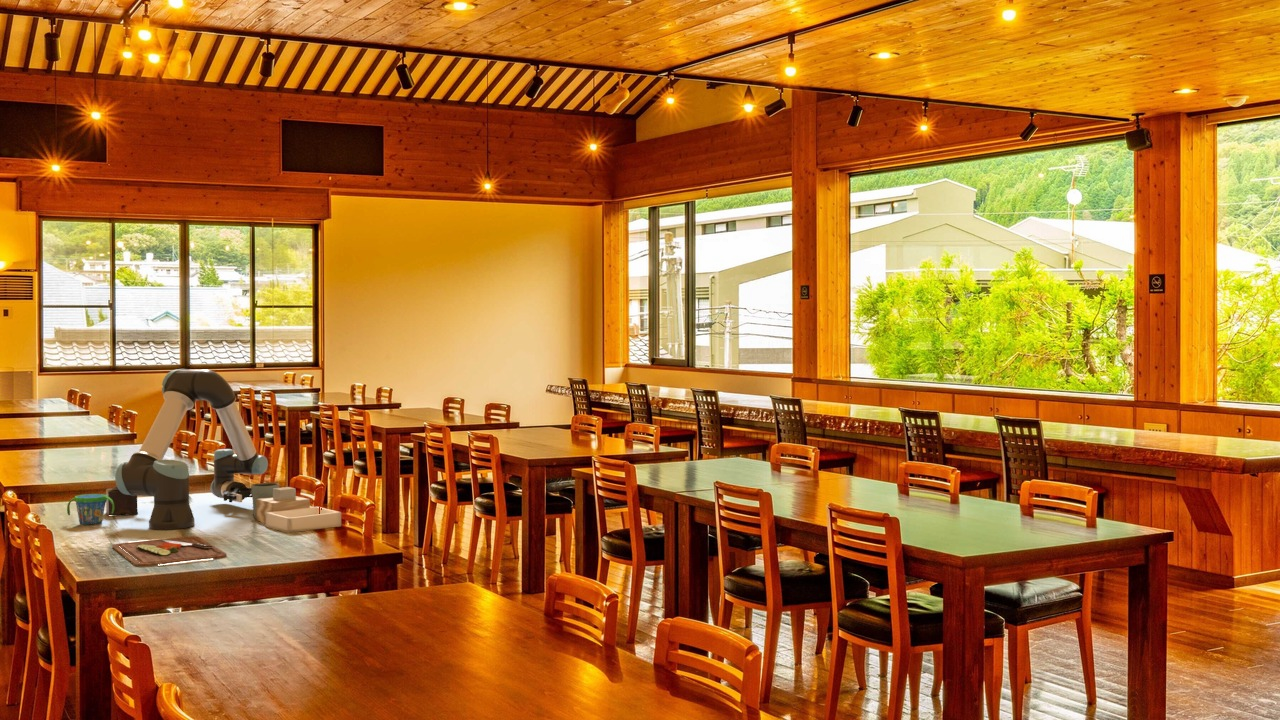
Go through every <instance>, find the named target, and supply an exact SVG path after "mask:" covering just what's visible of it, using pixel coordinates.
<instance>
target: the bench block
mask: <svg viewBox="0 0 1280 720" xmlns="http://www.w3.org/2000/svg"><path fill="white" fill-rule="evenodd" d="M310 502H311V499H310V498H305V497H302V496H297V495H296V500H287V501H278V500H274V499H273V497H271V498H261V499H256V504H257V518H256V521H257V522H259V521H260V523H264V524H266V517H265V513H266V512H275V511H283V510H292V509H301V508H309V507H311V505H310Z"/></svg>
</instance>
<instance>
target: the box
mask: <svg viewBox="0 0 1280 720" xmlns="http://www.w3.org/2000/svg"><path fill="white" fill-rule="evenodd" d="M319 507H320V514H319ZM321 508H322V510H321ZM265 517H266V523H265V528H270V529H273V530H276V531H280V532H283V533H286V534H291V533H300V532H307V531H314V530H324V529H330V528H336V527H337V528H338V527H342V512H341V511H338V510H333V509H328V508H325V507H321V506H312V507H311V506H310V507H309V508H301V509H292V510H283V511H275V512H266V513H265Z"/></svg>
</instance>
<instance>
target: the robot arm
mask: <svg viewBox="0 0 1280 720" xmlns="http://www.w3.org/2000/svg"><path fill="white" fill-rule="evenodd" d="M161 386H162V387H161V392H162V396H163V397H162V398H163V400H164V402H163V403H162V406H161V407H160V409H159V412H158V413H157V415H156V418H155V419H154V421H153V424H152V425H151V427H150V429H149V431H148V432H147V435H146V437H145V439H144V440H143V443H142V444H141V447H140V449H139V450H138V452H134V453H133V454H131V456H130V459H129V460H128V461H127V462H126V461H124V462H123V463H120V464H118V467H117V468H116V470H115V475H114V476H115V477H114V478H115V479H114V480H115V486H116V485H117V487H118V489H119V490H120V492H122V493H123V494H126V495H132V496H136V495H137V497H138V496H142V497H153V508H152V510H151V511H152V512H151V514H150V517H149V522H148V527H149V529H151V530H163V531H164V530H166V531H167V530H179V529H180V530H181V529H185V528H187V529H188V528H191V527H194V526H195V525H196V523H195V517H194V513H193V511H192V508H191V506H190V471H189V466H188V464H187V463H186V462H184V461H181V460H176V459H164V457H165V455H166V453H167V452H168V449H169V447H170V446H171V444H172V442H173V439H174V437H175V435H176V434H177V432H178V429H179V427H180V425H181V423H182V421H183V418H184V417H185V415H186V413H187V411H190V410H192V409H193V408H194V407H195V404H196V402H197V401H206V402H208V403H209V405H210V407H211V409H213V410H215V411H216V413H217V416H218V418H219V420H220V423H221V425H222V427H223V429H224V431H225V433H226V436H227V438H228V440H229V443H230V445H231V446H232V449H231V448H221V449H220V448H219V449H216V450H215V451H214V453H213V454H214V455H213V475H214V476H213V480H212V482H211V483H210V486H209V487H210V489H209V490H210V492H211V494H212V495H214V496H215V497H217V498H219V499H223V501H224V502H226V501H228V502H229V503H233V502H236V503H243V500H245V499H247V498H252V491H251V487H248V486H247V485H246V484H245V483H243V482H240V481H236V480H235V474H236V475H241V474H242V475H252V476H253V475H254V476H255V475H263V474H265V473H266V471H267V470H268V466H269V463H268V462H269V461H268V458H267V457H266V456H265V455H262V454H258V451H257V450H256V449H257V448H256V446H255V445H254V443H253V440H252V438H251V436H250V433H249V431H248V429H247V427H246V425H245V422H244V419H243V418H242V415H241V413H240V409H239V408H238V405H237V403H236V400H237V397H236V394H235V392H234V390H233V387H232V386H231V385H230V384H229V383H228V381H227V380H226V379H225V378H224V377H223V376H222V375H220V374H219V373H218V372H216V371H214V370H211V369H187V368H179V369H172V370H171V371H169V372H168V373H166V375H165V376H164V378H163V379H162V383H161Z"/></svg>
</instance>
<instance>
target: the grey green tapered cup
mask: <svg viewBox="0 0 1280 720" xmlns="http://www.w3.org/2000/svg"><path fill="white" fill-rule="evenodd" d="M250 488H251V491H252V497H251V498H252V506H253V507H252V508H253V517H254V518H256V517H257V504H256V499H261V498H271V497H273V488H280V484H279V483H277V482H260V483H254V484H251V485H250Z"/></svg>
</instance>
